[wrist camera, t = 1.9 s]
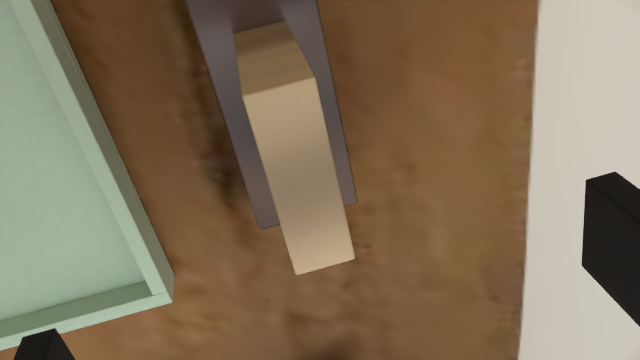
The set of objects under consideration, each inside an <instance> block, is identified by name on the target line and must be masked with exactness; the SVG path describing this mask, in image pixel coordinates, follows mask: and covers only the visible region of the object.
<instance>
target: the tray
mask: <svg viewBox="0 0 640 360" xmlns="http://www.w3.org/2000/svg"><path fill="white" fill-rule="evenodd" d="M173 287H174V274H173V271H172V269H171V267H170V265H169V263H168V260H167V258H166V256H165V254H164V252H163V249H162V247H161V245H160V243H159V240H158V238H157V236H156V234H155V232H154V229H153V227H152V225H151V223H150V221H149V218H148V216H147V214H146V212H145V209H144V207H143V205H142V203H141V201H140V198H139V196H138V194H137V192H136V190H135V187H134V185H133V183H132V181H131V179H130V176H129V174H128V172H127V170H126V167H125V165H124V163H123V161H122V159H121V156H120V154H119V152H118V150H117V148H116V145H115V143H114V141H113V139H112V136H111V134H110V132H109V130H108V128H107V125H106V123H105V121H104V119H103V117H102V114H101V112H100V110H99V108H98V106H97V103H96V101H95V99H94V97H93V94H92V92H91V90H90V88H89V86H88V83H87V81H86V79H85V77H84V75H83V72H82V70H81V68H80V66H79V64H78V61H77V59H76V57H75V55H74V52H73V50H72V48H71V46H70V44H69V41H68V39H67V37H66V35H65V33H64V30H63V28H62V26H61V24H60V21H59V19H58V17H57V15H56V13H55V10H54V8H53V6H52V4H51V2H50V0H0V350H4V349H8V348H11V347H15V346H18V345H20V342H21V340H22V337H25V336H28V335H32V334H35V333H39V332H43V331H46V330H50V329H53V328H56V330H57V331H58V333H59V334H61V333H65V332H68V331H72V330H76V329H79V328H83V327H86V326H90V325H93V324H97V323H101V322H104V321H108V320H111V319H115V318H118V317H122V316H126V315H129V314H133V313H136V312H140V311H143V310H147V309H151V308H154V307H158V306H161V305H165V304H168V303H172V299H173Z"/></svg>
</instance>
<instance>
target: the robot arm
mask: <svg viewBox="0 0 640 360" xmlns="http://www.w3.org/2000/svg"><path fill="white" fill-rule="evenodd" d="M582 266H583V267H584V269H586V270H587V272H588V273H589V274H590V275H591V276H592V277H593V278H594V279H595V280H596V281H597V282H598V283H599V284H600V285H601V286H602V287H603V288H604V290H605V291H606V292H607V293H608V294H609V295H610V296H611V297H612V298H613V299H614V300H615V301H616V302H617V303H618V304H619V305H620V306H621V307H622V309H623V310H624V311H625V312H626V313H627V314H628V315H629V316H630V317H631V318H632V319H633V320H634V321H635V322H636V323H637V324H638V325H639V326H640V189H638V188H637V187H636V186H634V185H633V184H632V183H630V182H629V181H627V180H626V179H625V178H623V177H622V176H621V175H619V174H618V173H617V172H612V173H609V174H605V175H602V176H598V177H595V178H591V179H588V180H586V190H585V210H584V230H583V251H582ZM14 360H75V358H74V357H73V355H72V354H71V352H70V350H69V349H68V347H67V346H66V344H65V342H64V341H63V339H62V338H61V336H60V335H59V333H58V331H57V330H56V328H53V329H50V330H46V331H43V332H39V333H35V334H32V335H28V336H25V337H22V340H21V342H20V345H19V347H18V350H17V352H16V355H15V357H14Z"/></svg>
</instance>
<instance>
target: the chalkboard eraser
mask: <svg viewBox="0 0 640 360" xmlns="http://www.w3.org/2000/svg"><path fill="white" fill-rule="evenodd" d="M185 4H186V7H187V10H188V13H189V16H190V19H191V22H192V25H193V28H194V31H195V34H196V37H197V40H198V43H199V46H200V49H201V52H202V55H203V59H204V62H205V65H206V68H207V71H208V74H209V77H210V80H211V83H212V86H213V89H214V92H215V95H216V98H217V101H218V104H219V107H220V111H221V114H222V117H223V120H224V123H225V126H226V129H227V132H228V135H229V138H230V141H231V144H232V147H233V150H234V153H235V156H236V159H237V163H238V166H239V169H240V172H241V175H242V178H243V181H244V184H245V187H246V190H247V193H248V196H249V199H250V202H251V205H252V208H253V211H254V214H255V218H256V221H257V224H258V227H259V229H261V230H262V229H265V228H269V227H272V226H276V225H280V224H281V228H282V231H283V234H284V238H285V241H286V244H287V248H288V251H289V254H290V258H291V261H292V264H293V268H294V271H295V274H296V275H300V274H303V273H307V272H310V271H314V270H318V269H321V268H325V267H328V266H332V265H335V264H339V263H342V262H346V261H350V260H353V259H355V255H354V251H353V246H352V242H351V237H350V233H349V228H348V223H347V219H346V214H345V210H344V207H345V206H349V205H352V204H356V203H358V199H357V194H356V189H355V184H354V179H353V174H352V169H351V164H350V159H349V155H348V150H347V145H346V140H345V135H344V130H343V125H342V120H341V115H340V110H339V105H338V101H337V96H336V91H335V86H334V81H333V76H332V71H331V66H330V61H329V56H328V51H327V47H326V42H325V37H324V32H323V27H322V22H321V17H320V12H319V7H318V2H317V0H185Z"/></svg>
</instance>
